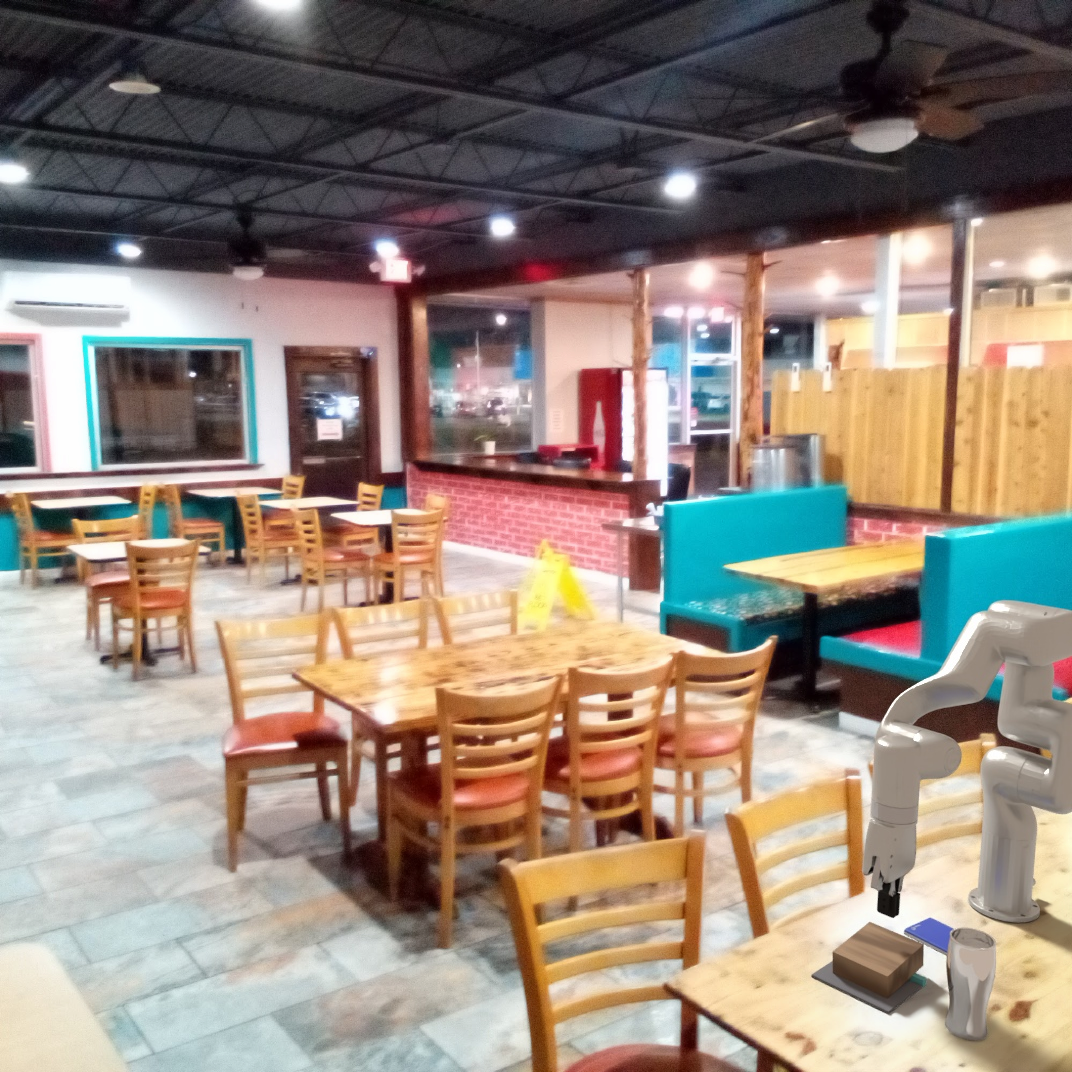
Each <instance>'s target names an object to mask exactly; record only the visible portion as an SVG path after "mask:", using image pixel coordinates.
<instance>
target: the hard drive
mask: <svg viewBox="0 0 1072 1072" xmlns="http://www.w3.org/2000/svg"><path fill="white" fill-rule="evenodd" d="M953 929H955V928H953V927H951V926H949V925H947V924H945V923H943V922H941V921H939V920H937V919H935V918H933V917H927V918H925V919H923V920H921V921H919V922H917V923H915V924H912V925H910V926H907V927H905V929H904V930H903V935H904V936H906V937H908V938H910V939H912V940H915V941H917V942H920V943H922V944H924V945H925V946H926V947H929V948H931V949H933V950H935V951H937V952H938V953H941V954H943V955H945V956H947V949H948V943H949V937H950V932H951V931H952V930H953Z"/></svg>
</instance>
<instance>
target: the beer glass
mask: <svg viewBox="0 0 1072 1072" xmlns="http://www.w3.org/2000/svg"><path fill="white" fill-rule="evenodd" d="M996 945H997V942H996V939H995V938H994V937H993V936H992V935H991V934H990V933H988V932H985V931H983V930H980V929H977V928H973V927H965V926H964V927H956V928H954V929H953V930H952V931H951V932H950V937H949V943H948V949H947V955H946V958H945V959H946V961H945V963H946V965H945V966H946V967H945V968H946V979H947V980H946V982H947V989H948V996H949V997H948V998H949V1003H948V1005H949V1006H948V1010H947V1014H946V1016H945V1017H946V1018H945V1022H944V1025H945V1029H947V1031H948V1032H949V1033H951V1034H952V1035H953V1036H956V1038H959V1039H963V1040H966V1041H973V1042H977V1041H978V1042H979V1041H982V1040H984V1039H986V1038H987V1037H988V1033H989V1031H988V1023H987V1010H988V1004H989V1001H990V998H991V994H992V991H993V986H994V983H995V977H996V970H997V946H996Z"/></svg>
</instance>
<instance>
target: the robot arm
mask: <svg viewBox="0 0 1072 1072" xmlns="http://www.w3.org/2000/svg"><path fill="white" fill-rule="evenodd" d="M1071 657H1072V610H1070V609H1066V608H1062V607H1061V608H1060V607H1055V606H1048V605H1042V604H1037V603H1032V602H1025V601H1020V600H1009V599H1007V600H1006V599H1003V600H997V601H994V602H993V603H991V604H990V605H989V607H988V609H987V610H982V611H979V612H976V613H974V614H973V615H971V616H970V617H969V619H968V620H967V622H966V624H965V626H964V627H963V629H962V630H961V632H960V633H959V635H958V637H957V639H956V641H955V643H954V644H953V646H952V648H951V650H950V652H949V653H948V655H947V657H946V659H945V660H944V662H943V664H942V665H941V668H940V669H939V670H938V672H936V673H935V674H933V675H931V676H929V677H927V678H925V679H922V680H921V681H919V682H917V683H915V684H914V685H912V686H911V687H909V688H908V689H905V690H904V691H903V692H902V693H900V694H899V695H898V696H897V697H896V698H895V699H894V700H893V702H892V703H891V705H890V706H889V708H888V709H887V711H886V713H885V714H884V717H882V720H881V722H880V723H879V726H878V728H877V730H876V733H875V737H874V748H873V761H872V762H873V763H872V777H871V778H872V780H871V781H872V782H871V797H870V799H871V800H870V813H869V815H870V819H869V823H868V826H867V831H866V835H865V840H864V841H865V843H864V849H863V858H862V869H861V870H862V874H863V875H864V876H869V875H872V876H871V881H870V888H871V889H873V890H876V891H877V903H876V910H877V912H878V913H879V914H881V915H884V916H887V917H889V918H890V919H891V918H892V919H894V918H896V917H897V916H900V915H899V914H900V906H901V905H900V904H901V892H902V890H903V886H904V885H903V884H904V883H903V882H904V878H905V876H906V875H907V874H908V873H909V872H911V871H912V870H913V869H914V868H915V864H916V858H917V841H918V840H917V838H918V837H917V824H918V822H919V821H918V819H919V806H920V804H919V800H920V788H921V781H922V780H938V779H939V780H940V779H944V778H947V777H950V776H951V775H953V774H954V773H955V772H957V770H958V769H959V767H960V766H961V763H962V759H963V756H962V755H963V752H962V749H961V746H960V744H959V743H958V742H957V741H956V740H955V739H953V737H951V736H948V735H946V734H943V733H940V732H937V731H933V730H930V729H927V728H924V727H920V726H917V725H914V724H915V723H916V722H917V721H919V720H918V719H920V718H921V717H924V715H926V714H928V713H931V712H933V711H936V710H941V709H944V708H952V707H957V706H962V705H963V706H964V705H968V704H974V703H979V702H980V701H982V700H984V698H985V697H986V696H987V694H988V692H989V690H990V689H991V686H992V684H993V682H994V680H995V679H996V677H997V675H998V674H999V671H1000V669H1002V666H1003V665H1004V673H1003V681H1002V687H1001V694H1000V701H999V707H998V712H997V713H998V714H997V729H998V732H999V733H1000V734H1001V735H1002V736H1003V737H1005V738H1007V739H1009V740H1011V741H1014V742H1017V743H1020V744H1024V745H1027V746H1030V747H1034V748H1038V749H1041V750H1045V751H1048V752H1050V756H1051V758H1050V757H1048V756H1047V757H1046V756H1043V755H1040V754H1037V753H1035V752H1031V751H1028V750H1025V749H1021V748H1016V747H1012V746H1005V745H1001V746H995V747H992V748H990V749H989V750H988V751H986V752H985V754H984V755H983V757H982V759H981V762H980V780H981V788H982V797H983V798H982V801H983V802H982V803H983V809H982V825H981V836H980V837H981V838H980V851H979V863H978V864H979V865H978V879H977V880H978V881H977V882H978V883H977V887H975V888H973V889H972V890H971V889H970V891H969V893H968V897H967V898H968V899H967V900H968V903H969V905H970V906H971V907H972V908H973V909H974V910H976V911H977V912H979V913H980V914H982V915H984V916H986V917H989V918H992V919H995V920H999V921H1003V922H1009V923H1029V922H1033V921H1035V920H1036V919H1038V918H1039V917H1040V914H1041V912H1040V911H1041V908H1040V906H1039V903H1037V901H1036V900H1035V899H1033V889H1034V888H1033V887H1035V885H1036V884H1037V883H1036V882H1037V881H1036V879H1035V878H1034V875H1035V874H1034V872H1035V863H1036V862H1035V861H1036V848H1037V836H1038V820H1037V817H1036V814H1035V811H1034V809H1033V807H1034V808H1036V809H1039V810H1043V811H1046V812H1049V813H1052V814H1055V815H1068V814H1071V813H1072V702H1067V701H1062V700H1058V699H1054V698H1053V688H1054V680H1055V668H1054V664H1053V663H1057V662H1059V661H1060V662H1061V661H1062V660H1063V661H1064V660H1066V659H1068V658H1071Z"/></svg>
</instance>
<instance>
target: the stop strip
mask: <svg viewBox="0 0 1072 1072" xmlns="http://www.w3.org/2000/svg"><path fill="white" fill-rule="evenodd" d="M927 979H928V978H927V977H925V976H923V975H921V974H918V972H916V973H915V974H914V975H913V976H911V977H910V978H909V979H908V980H910V981H912V982H915V983H917V984H919V985H921V986H922V988H924V987H925V986H927Z"/></svg>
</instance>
